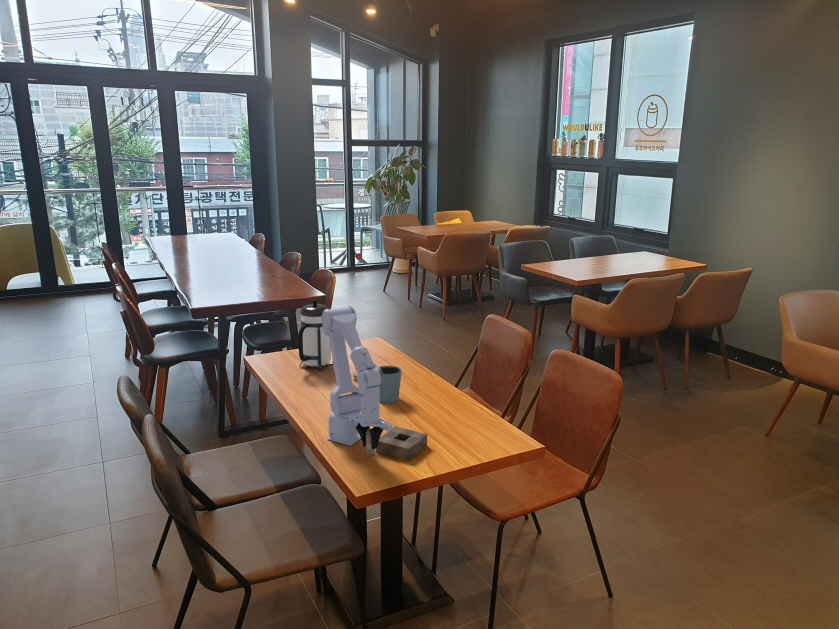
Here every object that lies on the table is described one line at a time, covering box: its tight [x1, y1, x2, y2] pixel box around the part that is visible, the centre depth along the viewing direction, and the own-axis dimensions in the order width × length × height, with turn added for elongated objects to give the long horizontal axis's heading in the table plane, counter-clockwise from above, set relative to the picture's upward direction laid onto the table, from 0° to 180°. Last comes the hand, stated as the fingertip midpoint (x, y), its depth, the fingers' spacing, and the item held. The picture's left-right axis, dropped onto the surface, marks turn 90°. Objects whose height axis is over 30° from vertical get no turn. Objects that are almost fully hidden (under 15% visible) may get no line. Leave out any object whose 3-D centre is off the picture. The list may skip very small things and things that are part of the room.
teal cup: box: [379, 365, 403, 404], centre depth 241 cm, size 10×10×12 cm
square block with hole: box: [375, 425, 428, 462], centre depth 203 cm, size 12×12×4 cm
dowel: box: [365, 428, 375, 457], centre depth 195 cm, size 3×3×8 cm
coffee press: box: [297, 299, 333, 372], centre depth 272 cm, size 17×16×30 cm
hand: (370, 446), depth 195 cm, fingers closed on dowel, 3 cm apart
